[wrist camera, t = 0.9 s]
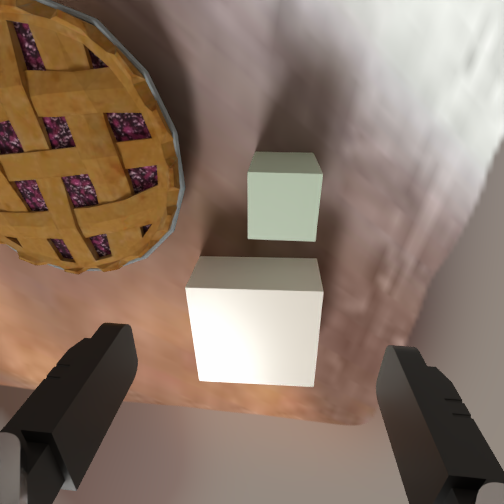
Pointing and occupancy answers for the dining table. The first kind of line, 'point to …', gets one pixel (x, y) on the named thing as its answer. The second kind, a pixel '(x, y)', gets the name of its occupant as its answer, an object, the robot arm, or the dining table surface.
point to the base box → (256, 319)
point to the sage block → (283, 196)
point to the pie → (81, 144)
